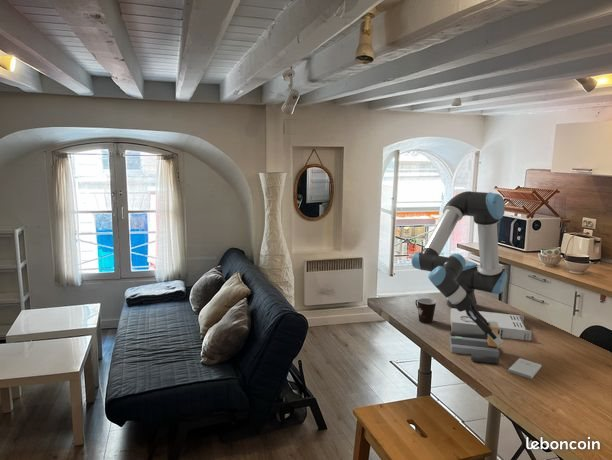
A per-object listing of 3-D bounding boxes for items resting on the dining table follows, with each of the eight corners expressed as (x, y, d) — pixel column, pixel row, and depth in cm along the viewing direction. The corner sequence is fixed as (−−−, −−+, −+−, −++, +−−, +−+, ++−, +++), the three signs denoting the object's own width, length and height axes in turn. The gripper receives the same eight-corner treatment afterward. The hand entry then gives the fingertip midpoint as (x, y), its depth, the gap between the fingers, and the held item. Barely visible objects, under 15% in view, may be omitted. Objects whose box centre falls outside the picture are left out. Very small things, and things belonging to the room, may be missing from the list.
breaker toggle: (488, 345, 179) (490, 324, 177) (487, 341, 183) (488, 321, 181) (496, 346, 178) (498, 325, 177) (494, 342, 182) (496, 321, 181)
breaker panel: (451, 352, 180) (451, 346, 179) (449, 341, 190) (449, 335, 190) (498, 357, 175) (499, 351, 175) (494, 346, 186) (494, 339, 186)
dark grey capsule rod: (470, 361, 172) (471, 356, 171) (470, 359, 174) (470, 353, 173) (499, 365, 169) (500, 359, 169) (498, 362, 172) (498, 356, 171)
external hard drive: (507, 372, 165) (518, 361, 174) (531, 380, 159) (541, 368, 168) (508, 368, 164) (519, 357, 173) (531, 376, 159) (541, 364, 168)
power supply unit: (530, 341, 192) (531, 331, 191) (451, 332, 201) (452, 322, 200) (523, 325, 210) (524, 315, 209) (450, 317, 219) (450, 308, 218)
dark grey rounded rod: (450, 337, 194) (450, 332, 194) (450, 335, 196) (450, 330, 196) (490, 341, 190) (490, 336, 190) (489, 339, 193) (489, 334, 192)
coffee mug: (436, 324, 209) (438, 304, 207) (418, 324, 209) (419, 304, 207) (430, 315, 220) (431, 296, 218) (413, 315, 220) (414, 296, 218)
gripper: (450, 297, 190) (488, 338, 189) (454, 311, 173) (495, 355, 173) (464, 287, 188) (503, 327, 187) (469, 299, 171) (511, 344, 170)
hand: (499, 341), depth 180 cm, fingers closed on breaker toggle, 4 cm apart
